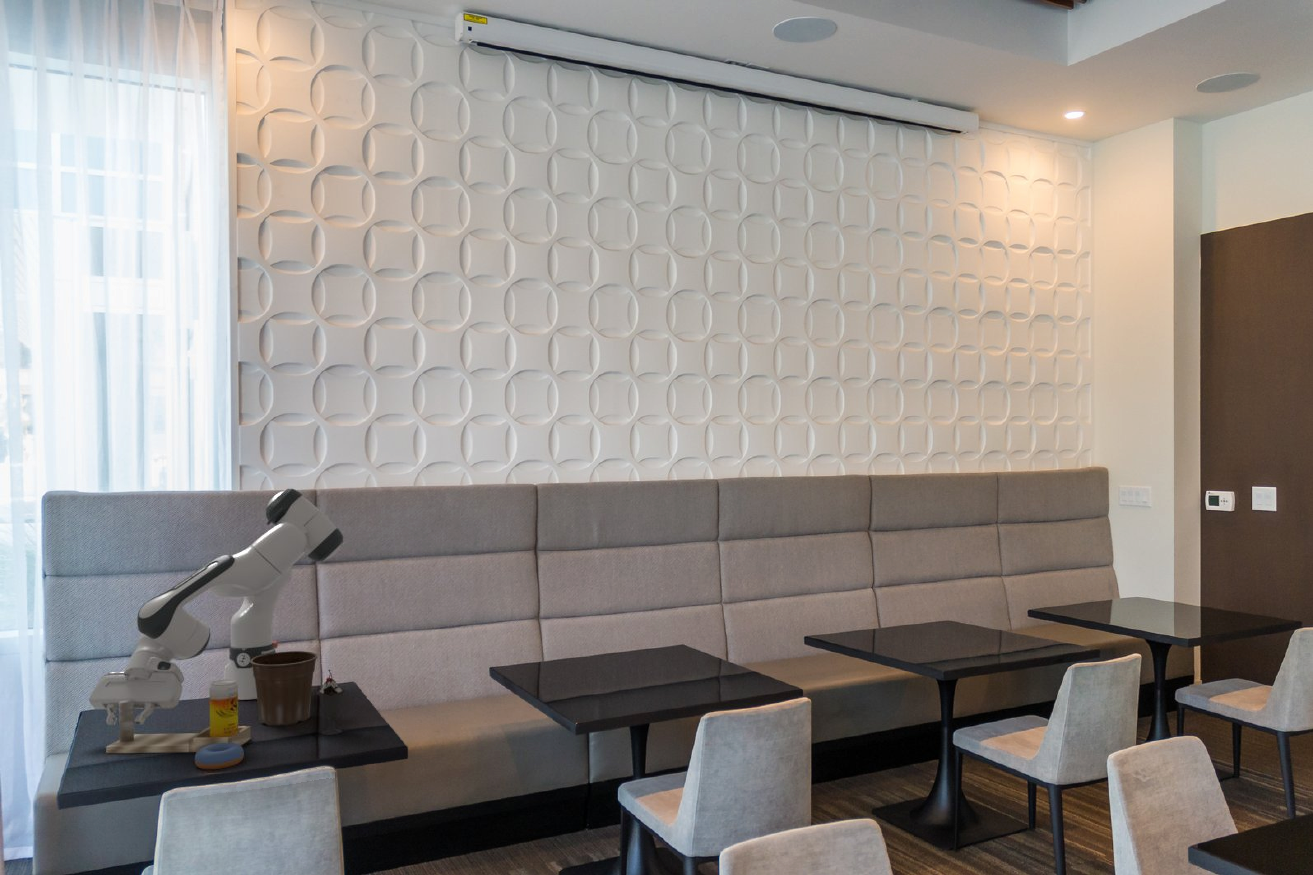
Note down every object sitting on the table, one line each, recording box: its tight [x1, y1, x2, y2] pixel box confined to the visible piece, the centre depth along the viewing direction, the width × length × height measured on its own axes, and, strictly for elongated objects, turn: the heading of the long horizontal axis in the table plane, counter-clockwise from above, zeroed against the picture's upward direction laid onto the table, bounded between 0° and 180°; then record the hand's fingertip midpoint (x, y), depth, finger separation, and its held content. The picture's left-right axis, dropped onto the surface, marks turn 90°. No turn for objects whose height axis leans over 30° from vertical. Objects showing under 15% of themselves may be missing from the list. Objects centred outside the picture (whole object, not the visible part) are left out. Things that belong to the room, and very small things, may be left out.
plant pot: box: [250, 650, 318, 727], centre depth 253 cm, size 16×16×16 cm
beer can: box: [209, 679, 239, 737], centre depth 231 cm, size 6×6×15 cm
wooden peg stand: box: [105, 700, 251, 754], centre depth 231 cm, size 29×10×10 cm, turn 90°
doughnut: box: [194, 743, 245, 770], centre depth 218 cm, size 10×10×5 cm
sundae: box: [316, 669, 346, 736], centre depth 241 cm, size 7×7×15 cm
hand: (124, 723), depth 231 cm, fingers open, 5 cm apart
